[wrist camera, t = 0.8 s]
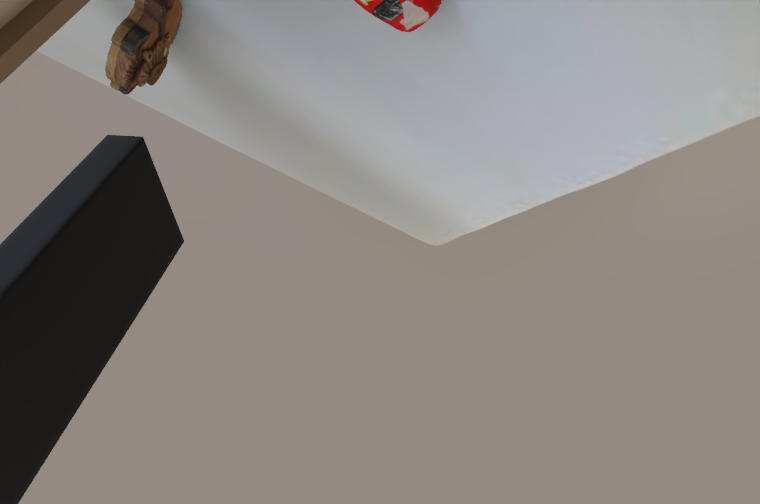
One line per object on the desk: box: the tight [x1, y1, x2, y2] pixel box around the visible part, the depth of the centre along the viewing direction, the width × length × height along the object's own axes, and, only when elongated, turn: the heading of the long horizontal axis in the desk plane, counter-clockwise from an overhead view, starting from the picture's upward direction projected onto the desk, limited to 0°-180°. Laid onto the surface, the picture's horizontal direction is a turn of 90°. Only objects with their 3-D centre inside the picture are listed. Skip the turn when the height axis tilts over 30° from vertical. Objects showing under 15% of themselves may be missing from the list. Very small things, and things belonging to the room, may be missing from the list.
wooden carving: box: [105, 0, 182, 94], centre depth 58 cm, size 16×5×10 cm, turn 158°
